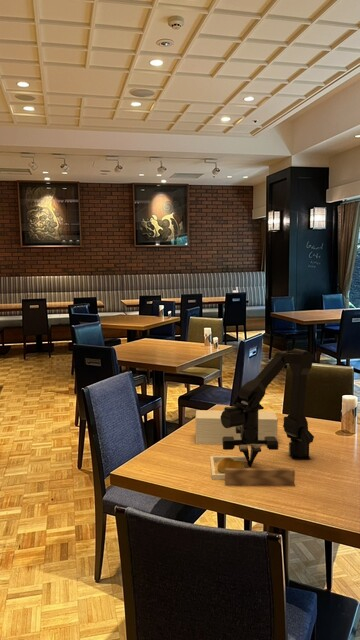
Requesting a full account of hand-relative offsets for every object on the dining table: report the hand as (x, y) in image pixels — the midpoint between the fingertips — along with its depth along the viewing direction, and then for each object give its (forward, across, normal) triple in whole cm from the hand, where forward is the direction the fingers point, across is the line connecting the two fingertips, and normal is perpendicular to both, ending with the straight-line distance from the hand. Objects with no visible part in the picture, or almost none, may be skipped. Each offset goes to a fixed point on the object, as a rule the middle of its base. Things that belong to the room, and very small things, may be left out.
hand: (249, 466), depth 166 cm
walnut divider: (+1, -2, +12) cm, 12 cm away
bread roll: (+1, +7, +1) cm, 7 cm away
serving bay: (+1, +6, 0) cm, 6 cm away
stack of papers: (+1, +2, -29) cm, 29 cm away
